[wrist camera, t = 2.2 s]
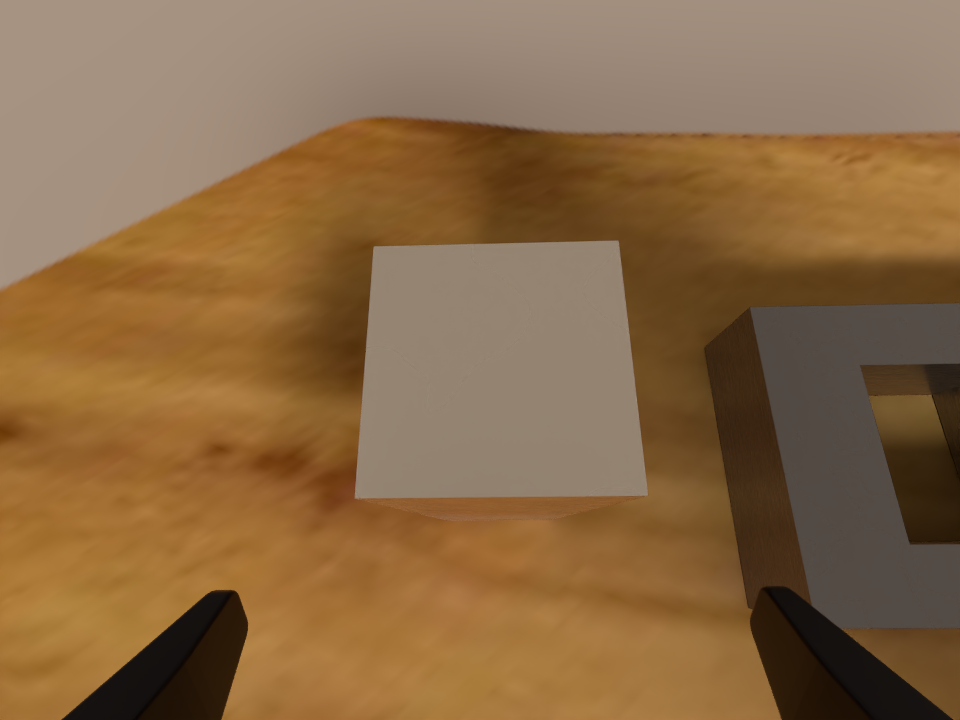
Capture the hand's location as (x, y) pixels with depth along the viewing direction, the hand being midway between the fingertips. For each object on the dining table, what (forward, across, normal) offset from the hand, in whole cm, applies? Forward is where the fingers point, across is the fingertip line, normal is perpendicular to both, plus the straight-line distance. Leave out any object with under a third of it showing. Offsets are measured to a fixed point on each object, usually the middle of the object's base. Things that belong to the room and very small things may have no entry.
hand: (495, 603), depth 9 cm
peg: (+10, 0, +5) cm, 11 cm away
